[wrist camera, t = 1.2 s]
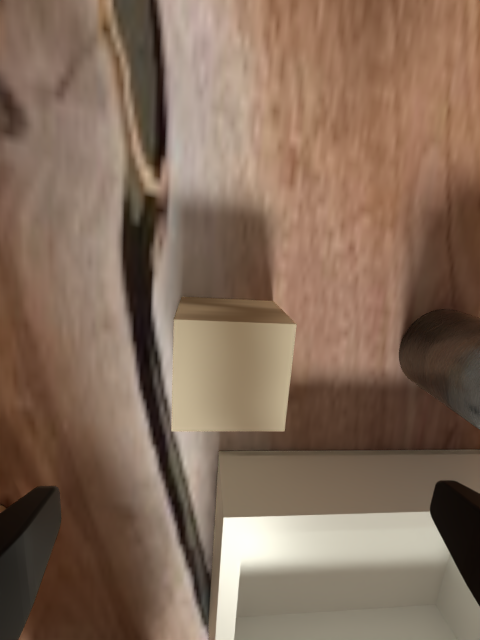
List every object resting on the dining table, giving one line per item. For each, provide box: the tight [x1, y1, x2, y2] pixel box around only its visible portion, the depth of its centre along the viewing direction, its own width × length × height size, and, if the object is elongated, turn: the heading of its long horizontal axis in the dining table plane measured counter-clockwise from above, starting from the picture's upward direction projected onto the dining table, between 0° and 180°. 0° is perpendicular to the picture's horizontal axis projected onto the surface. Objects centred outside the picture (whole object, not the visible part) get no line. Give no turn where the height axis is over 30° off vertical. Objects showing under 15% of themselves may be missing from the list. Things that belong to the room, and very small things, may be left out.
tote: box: [209, 450, 480, 640], centre depth 21 cm, size 18×14×5 cm
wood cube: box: [171, 297, 297, 431], centre depth 17 cm, size 5×5×5 cm
